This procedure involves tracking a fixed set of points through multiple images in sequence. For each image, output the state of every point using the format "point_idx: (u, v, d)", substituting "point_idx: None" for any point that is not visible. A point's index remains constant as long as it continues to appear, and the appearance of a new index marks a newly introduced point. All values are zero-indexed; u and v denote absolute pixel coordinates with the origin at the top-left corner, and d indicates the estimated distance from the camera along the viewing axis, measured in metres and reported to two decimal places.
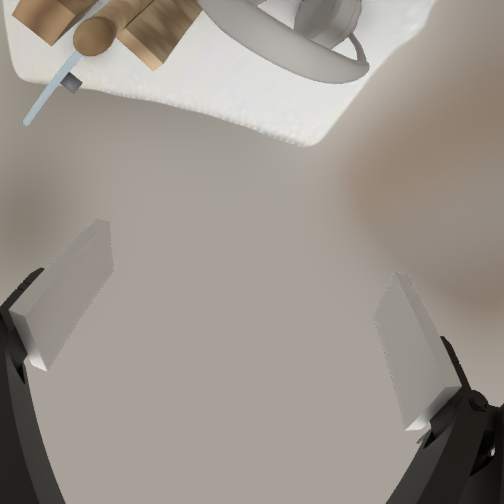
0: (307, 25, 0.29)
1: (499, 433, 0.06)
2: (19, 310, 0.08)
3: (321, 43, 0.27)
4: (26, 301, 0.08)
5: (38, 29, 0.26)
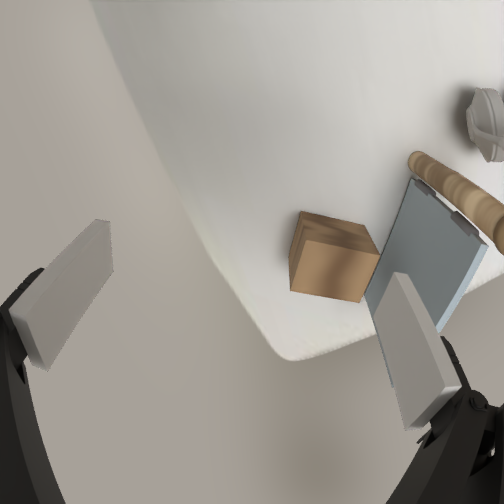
0: None
1: (499, 433, 0.06)
2: (19, 310, 0.08)
3: None
4: (26, 301, 0.08)
5: (336, 292, 0.37)
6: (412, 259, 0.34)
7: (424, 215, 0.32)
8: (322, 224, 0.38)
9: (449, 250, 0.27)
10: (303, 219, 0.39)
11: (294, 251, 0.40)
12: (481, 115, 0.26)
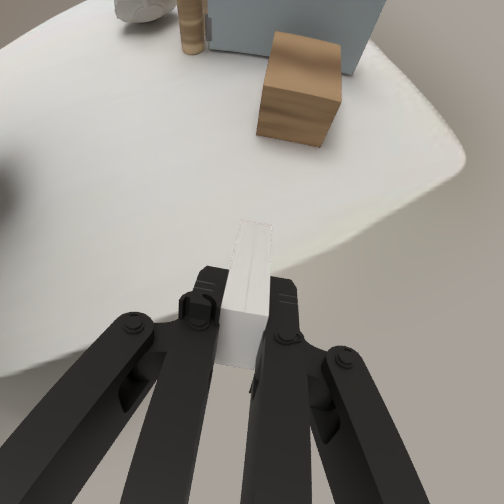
0: None
1: (335, 392, 0.08)
2: (234, 307, 0.10)
3: None
4: (235, 298, 0.10)
5: (331, 61, 0.26)
6: (273, 8, 0.27)
7: (228, 13, 0.29)
8: None
9: None
10: (258, 119, 0.30)
11: (300, 124, 0.29)
12: (133, 1, 0.30)
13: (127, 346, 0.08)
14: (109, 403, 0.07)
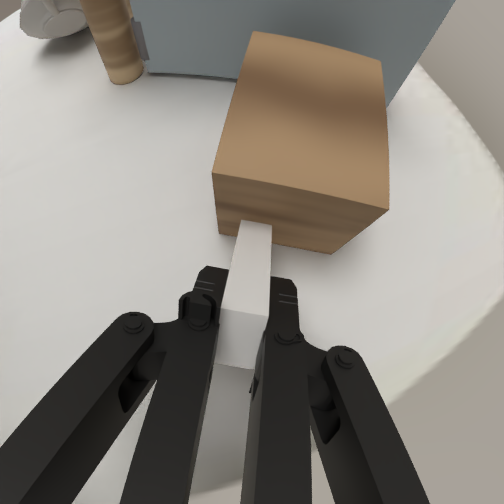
0: None
1: (335, 392, 0.08)
2: (234, 307, 0.10)
3: None
4: (235, 298, 0.10)
5: (367, 99, 0.13)
6: None
7: (166, 11, 0.15)
8: None
9: None
10: None
11: (298, 229, 0.16)
12: (38, 9, 0.16)
13: (127, 346, 0.08)
14: (109, 403, 0.07)
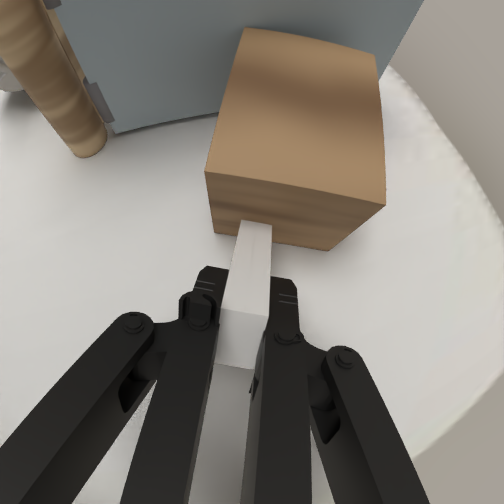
0: None
1: (335, 392, 0.08)
2: (234, 307, 0.10)
3: None
4: (235, 298, 0.10)
5: (361, 93, 0.13)
6: (219, 22, 0.13)
7: (126, 62, 0.14)
8: None
9: None
10: (212, 215, 0.17)
11: (294, 226, 0.16)
12: None
13: (127, 346, 0.08)
14: (109, 403, 0.07)
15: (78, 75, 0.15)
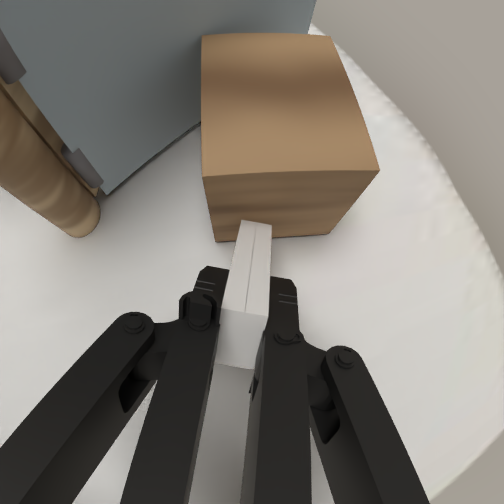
0: None
1: (334, 392, 0.08)
2: (234, 307, 0.10)
3: None
4: (235, 298, 0.10)
5: (328, 74, 0.13)
6: (180, 38, 0.13)
7: (104, 113, 0.13)
8: None
9: None
10: (212, 224, 0.17)
11: (294, 215, 0.16)
12: None
13: (127, 346, 0.08)
14: (109, 403, 0.07)
15: (60, 156, 0.14)
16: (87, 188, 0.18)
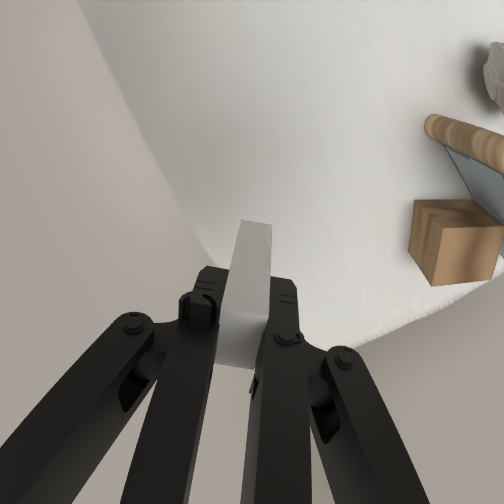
0: None
1: (335, 392, 0.08)
2: (234, 307, 0.10)
3: None
4: (235, 298, 0.10)
5: (472, 275, 0.30)
6: None
7: (482, 178, 0.25)
8: (442, 208, 0.31)
9: None
10: (423, 207, 0.32)
11: (420, 244, 0.33)
12: (501, 68, 0.19)
13: (127, 346, 0.08)
14: (109, 403, 0.07)
15: None
16: None
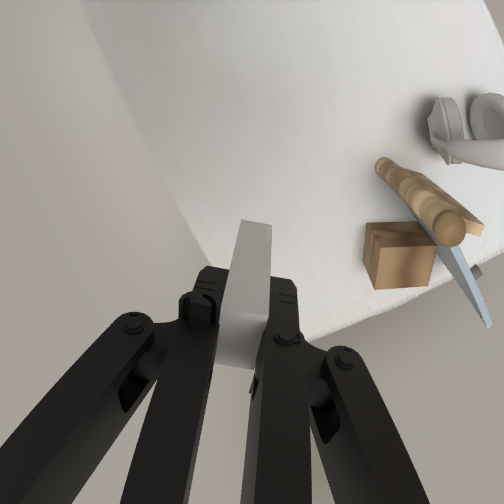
0: None
1: (335, 392, 0.08)
2: (234, 307, 0.10)
3: None
4: (235, 298, 0.10)
5: (409, 282, 0.43)
6: (436, 241, 0.39)
7: None
8: (386, 230, 0.45)
9: None
10: (371, 230, 0.45)
11: (369, 257, 0.46)
12: (437, 123, 0.32)
13: (127, 346, 0.08)
14: (109, 403, 0.07)
15: None
16: None
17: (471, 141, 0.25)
